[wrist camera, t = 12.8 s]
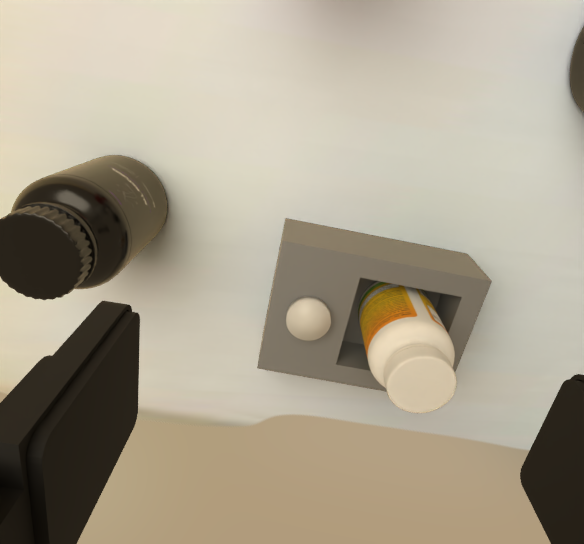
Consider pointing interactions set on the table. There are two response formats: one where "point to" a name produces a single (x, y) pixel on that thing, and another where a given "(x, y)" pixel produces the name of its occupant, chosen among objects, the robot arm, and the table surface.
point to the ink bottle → (578, 71)
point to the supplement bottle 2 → (407, 346)
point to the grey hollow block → (355, 298)
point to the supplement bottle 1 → (80, 226)
